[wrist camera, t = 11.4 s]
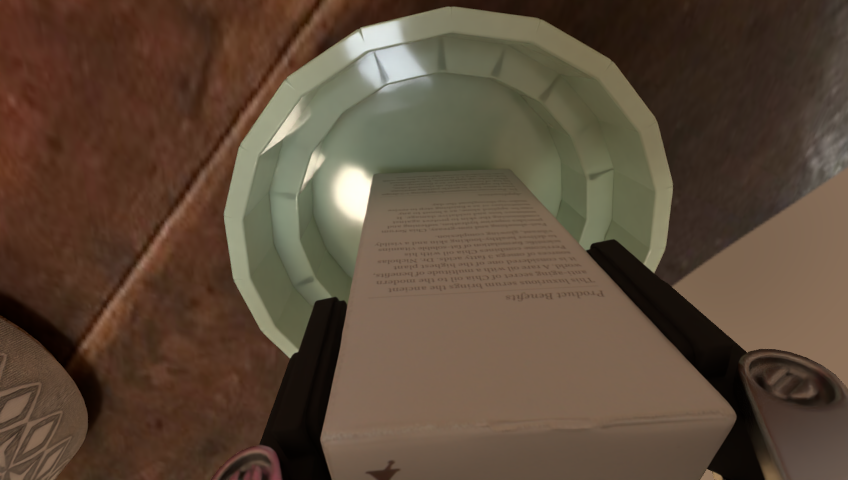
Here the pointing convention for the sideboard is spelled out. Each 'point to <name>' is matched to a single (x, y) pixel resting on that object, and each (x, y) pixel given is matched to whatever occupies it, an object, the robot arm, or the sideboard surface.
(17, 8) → the sideboard surface
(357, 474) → the cosmetic box
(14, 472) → the planter
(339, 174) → the bowl
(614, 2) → the sideboard surface
